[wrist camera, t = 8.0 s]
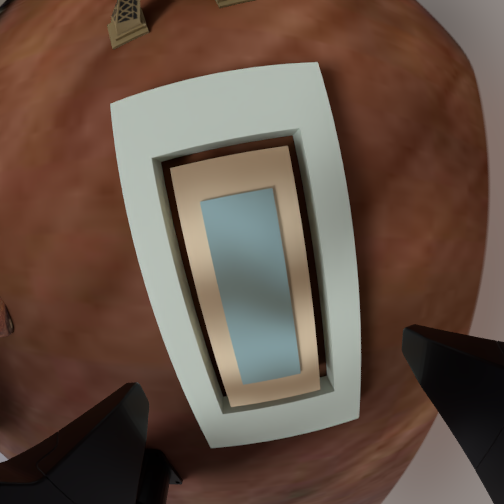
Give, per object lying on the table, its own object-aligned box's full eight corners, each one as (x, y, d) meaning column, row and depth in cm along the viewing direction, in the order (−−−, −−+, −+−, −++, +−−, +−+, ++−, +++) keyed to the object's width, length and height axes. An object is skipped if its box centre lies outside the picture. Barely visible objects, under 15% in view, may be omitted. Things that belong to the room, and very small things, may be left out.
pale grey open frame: (351, 403, 20) (358, 417, 18) (212, 431, 20) (210, 448, 18) (309, 74, 15) (317, 62, 13) (122, 112, 15) (110, 103, 13)
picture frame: (310, 365, 19) (321, 391, 16) (231, 380, 19) (231, 409, 16) (278, 153, 16) (288, 145, 13) (181, 172, 16) (169, 167, 13)
